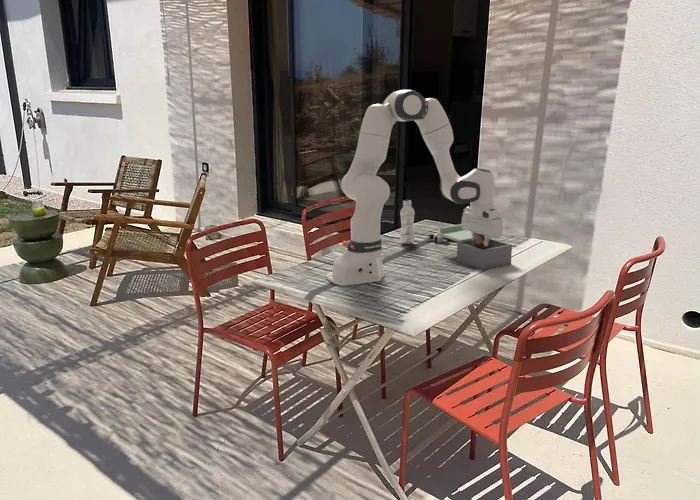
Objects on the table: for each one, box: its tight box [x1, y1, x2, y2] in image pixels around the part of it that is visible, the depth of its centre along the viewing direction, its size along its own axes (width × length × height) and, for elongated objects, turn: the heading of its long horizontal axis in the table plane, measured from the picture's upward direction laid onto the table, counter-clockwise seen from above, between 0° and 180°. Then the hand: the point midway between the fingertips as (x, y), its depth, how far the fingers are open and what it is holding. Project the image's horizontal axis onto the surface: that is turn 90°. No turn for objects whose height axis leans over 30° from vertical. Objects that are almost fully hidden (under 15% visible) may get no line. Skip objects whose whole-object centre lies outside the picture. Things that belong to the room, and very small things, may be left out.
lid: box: [438, 223, 473, 243], centre depth 233 cm, size 15×15×3 cm
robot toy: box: [425, 228, 449, 243], centre depth 259 cm, size 12×4×15 cm
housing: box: [456, 238, 513, 272], centre depth 224 cm, size 15×15×8 cm
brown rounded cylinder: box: [475, 234, 486, 250], centre depth 221 cm, size 4×4×6 cm
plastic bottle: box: [399, 199, 416, 245], centre depth 252 cm, size 6×7×20 cm
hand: (480, 244), depth 221 cm, fingers closed on brown rounded cylinder, 4 cm apart
